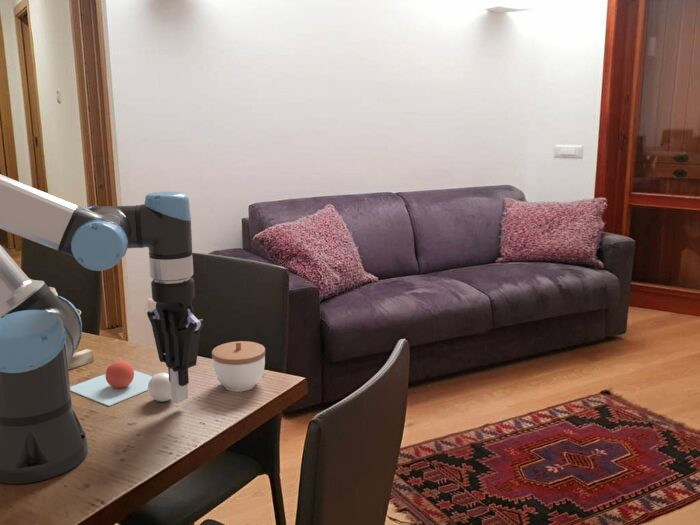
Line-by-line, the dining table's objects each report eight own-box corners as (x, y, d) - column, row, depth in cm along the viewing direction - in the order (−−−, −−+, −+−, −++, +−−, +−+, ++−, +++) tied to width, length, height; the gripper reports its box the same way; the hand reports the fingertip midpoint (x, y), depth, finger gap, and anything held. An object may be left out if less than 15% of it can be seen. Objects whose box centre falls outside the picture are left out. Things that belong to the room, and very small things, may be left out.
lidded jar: (271, 376, 141) (270, 334, 139) (259, 397, 131) (258, 352, 129) (221, 374, 142) (220, 332, 140) (206, 395, 132) (204, 350, 130)
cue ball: (146, 368, 128) (141, 393, 130) (157, 383, 124) (152, 408, 126) (172, 366, 132) (167, 390, 133) (184, 380, 128) (179, 405, 129)
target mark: (167, 382, 138) (167, 381, 138) (109, 406, 127) (108, 405, 127) (124, 367, 146) (124, 366, 146) (66, 389, 134) (65, 388, 134)
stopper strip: (48, 376, 141) (46, 365, 140) (42, 374, 142) (41, 363, 141) (93, 361, 149) (92, 350, 149) (88, 359, 151) (87, 348, 150)
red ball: (106, 358, 132) (97, 374, 135) (117, 380, 130) (107, 396, 133) (131, 353, 137) (122, 369, 139) (142, 375, 134) (132, 390, 137)
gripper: (213, 279, 119) (219, 401, 125) (164, 269, 126) (172, 385, 132) (181, 288, 113) (188, 416, 119) (132, 277, 120) (141, 398, 126)
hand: (180, 399), depth 125 cm, fingers closed
